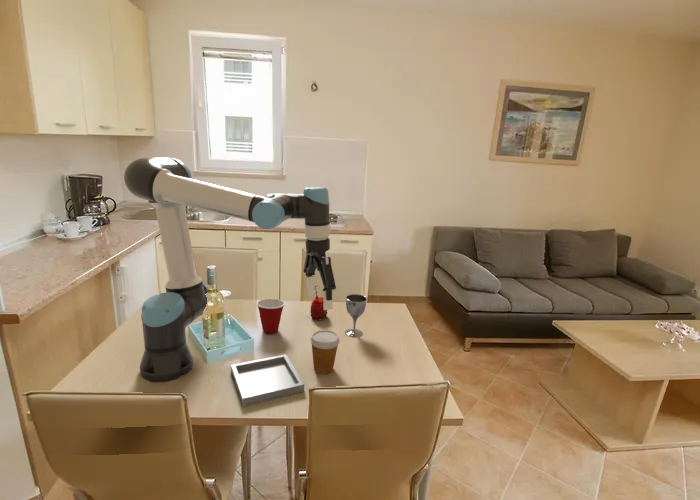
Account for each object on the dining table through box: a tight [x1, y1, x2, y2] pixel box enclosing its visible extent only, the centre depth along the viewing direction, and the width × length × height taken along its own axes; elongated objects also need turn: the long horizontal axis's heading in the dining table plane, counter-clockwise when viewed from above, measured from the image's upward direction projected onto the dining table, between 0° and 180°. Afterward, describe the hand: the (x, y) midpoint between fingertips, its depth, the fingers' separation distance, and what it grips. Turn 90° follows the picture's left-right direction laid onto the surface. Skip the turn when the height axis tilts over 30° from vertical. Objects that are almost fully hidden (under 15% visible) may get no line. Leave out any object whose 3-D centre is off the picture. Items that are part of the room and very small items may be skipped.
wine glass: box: [344, 293, 368, 338], centre depth 150 cm, size 8×8×15 cm
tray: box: [230, 353, 305, 407], centre depth 118 cm, size 18×18×2 cm
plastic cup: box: [256, 298, 286, 335], centre depth 148 cm, size 11×11×12 cm
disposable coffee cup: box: [309, 329, 341, 375], centre depth 125 cm, size 10×10×12 cm
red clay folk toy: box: [310, 284, 328, 321], centre depth 162 cm, size 8×7×15 cm
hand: (319, 301), depth 124 cm, fingers open, 13 cm apart
